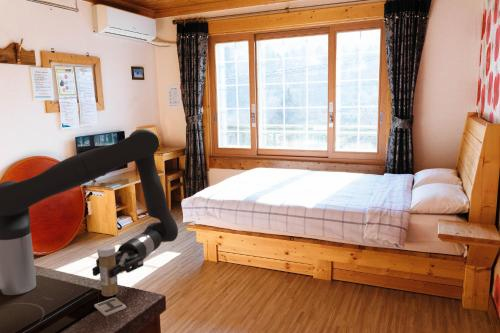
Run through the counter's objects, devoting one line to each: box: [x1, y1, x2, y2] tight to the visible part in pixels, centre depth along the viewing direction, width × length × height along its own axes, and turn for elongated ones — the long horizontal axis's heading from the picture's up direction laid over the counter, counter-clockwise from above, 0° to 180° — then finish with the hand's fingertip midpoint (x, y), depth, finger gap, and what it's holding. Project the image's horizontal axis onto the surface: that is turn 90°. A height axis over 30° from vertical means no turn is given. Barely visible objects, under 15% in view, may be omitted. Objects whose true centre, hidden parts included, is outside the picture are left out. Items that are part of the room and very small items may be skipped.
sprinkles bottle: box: [96, 244, 119, 297], centre depth 109 cm, size 5×5×14 cm
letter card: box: [94, 296, 127, 317], centre depth 111 cm, size 7×6×1 cm
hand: (101, 273), depth 106 cm, fingers closed on sprinkles bottle, 4 cm apart
